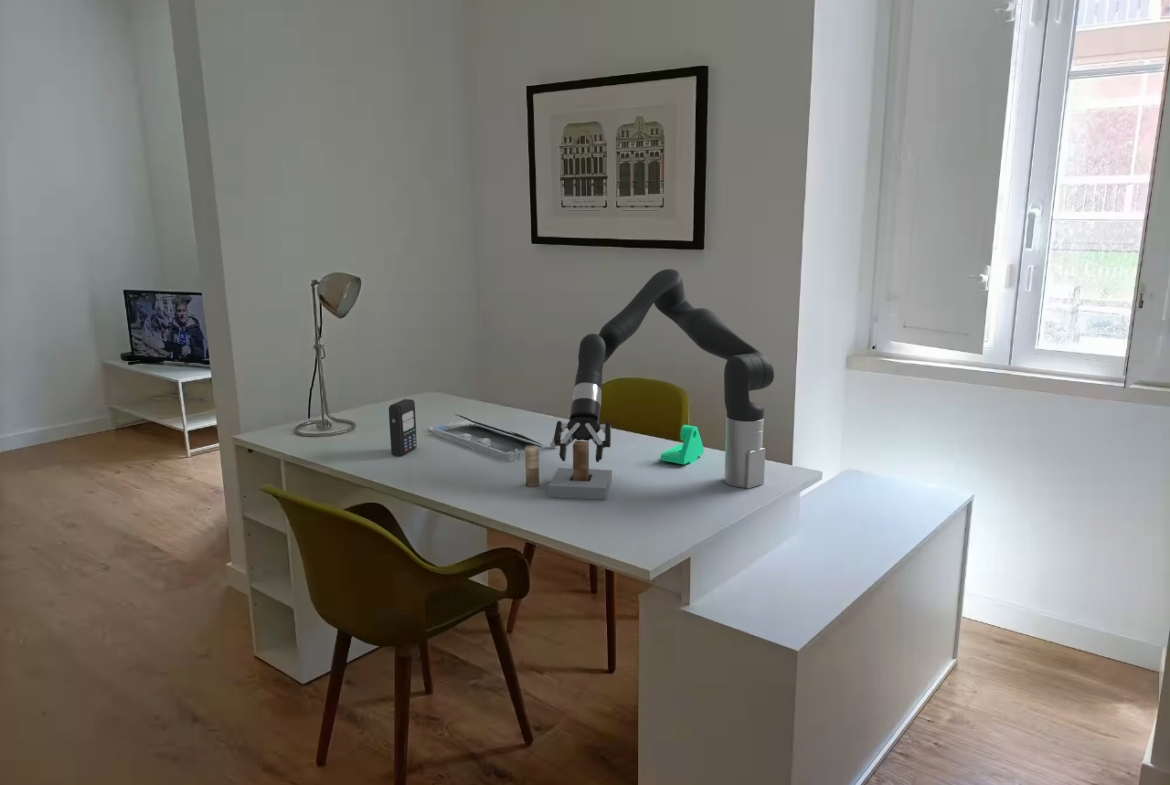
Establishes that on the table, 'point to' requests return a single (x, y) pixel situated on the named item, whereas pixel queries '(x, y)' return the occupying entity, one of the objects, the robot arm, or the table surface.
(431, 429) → the paper cutter
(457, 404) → the table surface
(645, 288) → the robot arm
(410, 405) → the card reader
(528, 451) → the beech dowel
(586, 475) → the walnut bar
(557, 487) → the bore plate
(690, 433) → the camera mount
